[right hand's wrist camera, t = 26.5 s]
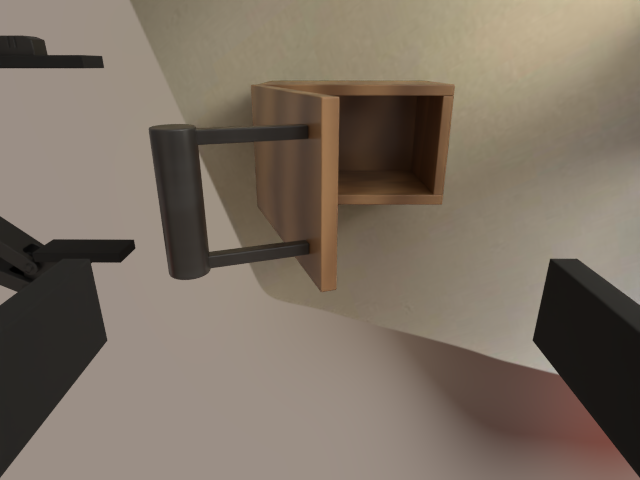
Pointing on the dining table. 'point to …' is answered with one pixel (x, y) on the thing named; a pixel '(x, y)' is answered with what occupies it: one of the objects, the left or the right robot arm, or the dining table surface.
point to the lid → (258, 184)
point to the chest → (389, 138)
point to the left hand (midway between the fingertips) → (112, 164)
